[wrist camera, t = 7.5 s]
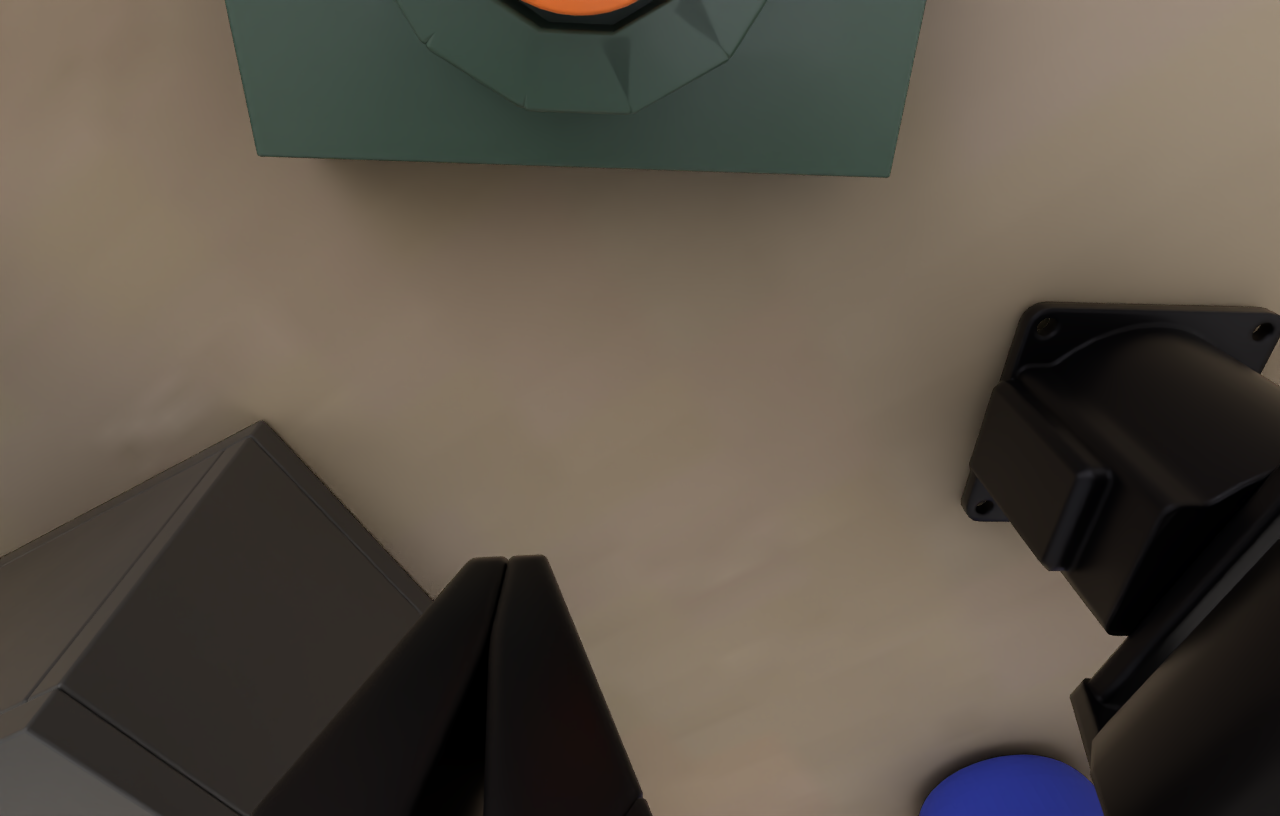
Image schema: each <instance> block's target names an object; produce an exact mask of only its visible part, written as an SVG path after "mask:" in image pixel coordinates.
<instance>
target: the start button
mask: <svg viewBox="0 0 1280 816" xmlns="http://www.w3.org/2000/svg"><path fill="white" fill-rule="evenodd" d="M522 1H523V2H525V3H528V4H530V5H532V6H535V7H537V8H539V9H542V10H546V11H550V12H554V13H557V14H565V15H573V16H584V15H597V14H602V13H608V12H612V11H615V10H618V9H621V8H624V7H627V6H629V5H631V4H633V3H635V2H636V1H638V0H522Z"/></svg>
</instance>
